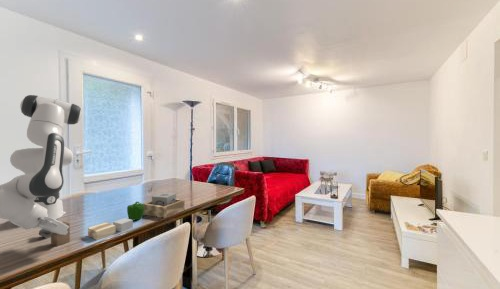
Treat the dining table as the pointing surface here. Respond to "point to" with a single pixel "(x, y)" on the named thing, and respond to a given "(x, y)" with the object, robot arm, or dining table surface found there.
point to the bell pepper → (135, 211)
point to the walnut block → (60, 237)
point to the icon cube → (164, 199)
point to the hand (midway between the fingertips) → (62, 231)
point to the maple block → (101, 230)
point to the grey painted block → (123, 224)
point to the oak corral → (163, 208)
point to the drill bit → (45, 233)
